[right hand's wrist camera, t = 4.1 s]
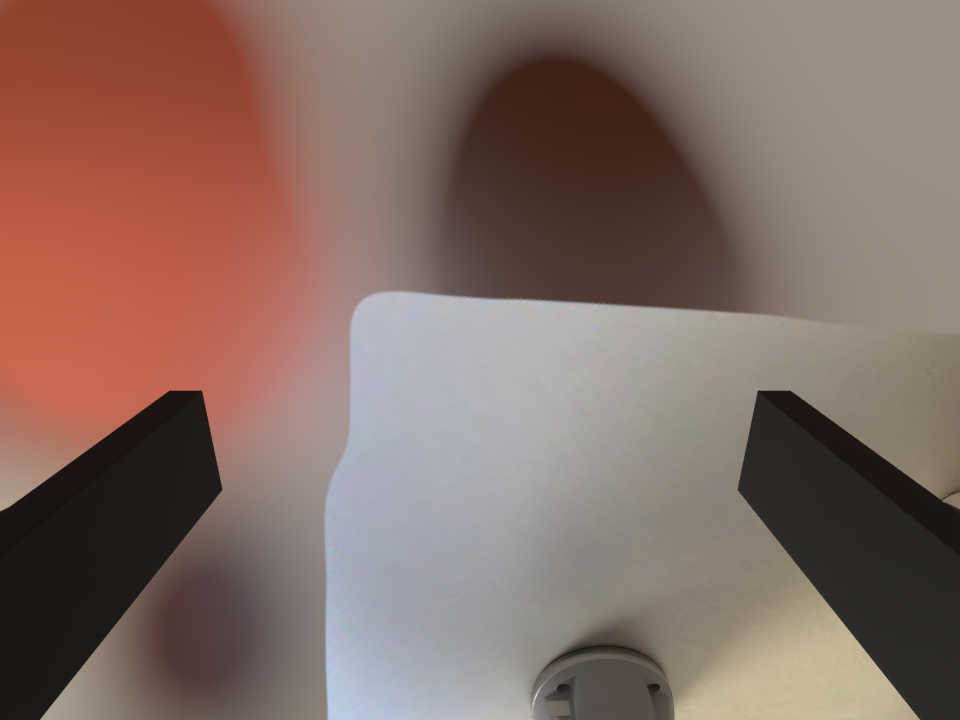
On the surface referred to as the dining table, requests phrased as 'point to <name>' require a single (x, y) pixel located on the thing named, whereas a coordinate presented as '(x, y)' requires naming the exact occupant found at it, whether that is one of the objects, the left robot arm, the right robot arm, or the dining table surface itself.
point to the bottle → (953, 500)
